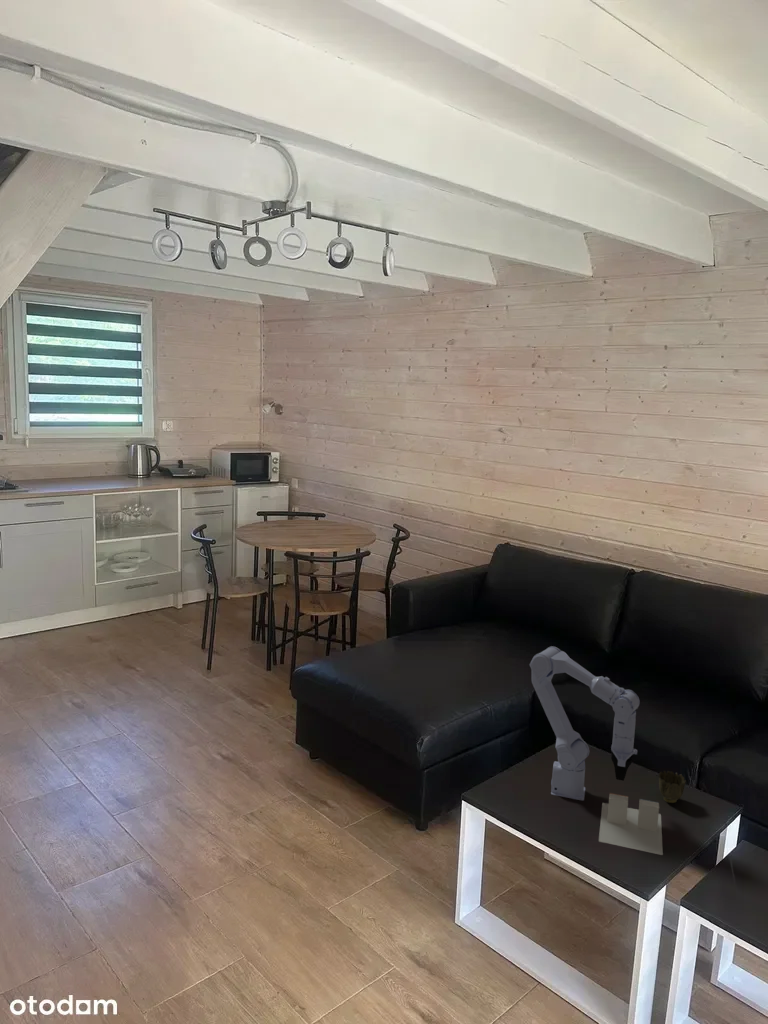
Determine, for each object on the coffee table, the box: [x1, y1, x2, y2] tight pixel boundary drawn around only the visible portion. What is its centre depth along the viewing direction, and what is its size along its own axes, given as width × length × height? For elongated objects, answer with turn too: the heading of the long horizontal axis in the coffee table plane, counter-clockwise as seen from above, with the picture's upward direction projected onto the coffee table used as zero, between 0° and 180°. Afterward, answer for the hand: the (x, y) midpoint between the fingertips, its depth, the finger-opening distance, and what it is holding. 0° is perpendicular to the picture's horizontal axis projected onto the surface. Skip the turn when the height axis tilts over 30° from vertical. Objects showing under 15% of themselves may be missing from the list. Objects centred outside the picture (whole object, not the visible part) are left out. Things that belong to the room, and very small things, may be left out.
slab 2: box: [638, 798, 660, 832], centre depth 199 cm, size 5×3×7 cm, turn 71°
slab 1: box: [607, 792, 629, 825], centre depth 202 cm, size 5×3×7 cm, turn 70°
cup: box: [658, 770, 687, 804], centre depth 213 cm, size 8×7×8 cm
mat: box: [598, 802, 664, 856], centre depth 199 cm, size 16×20×1 cm
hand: (620, 778), depth 207 cm, fingers closed
